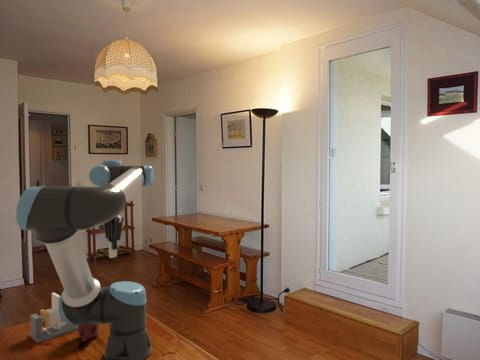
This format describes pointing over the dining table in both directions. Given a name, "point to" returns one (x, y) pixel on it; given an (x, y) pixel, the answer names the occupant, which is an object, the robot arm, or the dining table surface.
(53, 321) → the sleeve
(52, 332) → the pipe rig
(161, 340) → the dining table surface
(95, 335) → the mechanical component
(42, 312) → the orange flat plate
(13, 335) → the dining table surface
